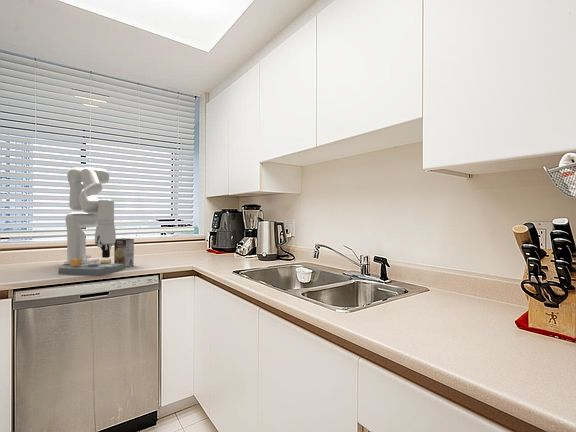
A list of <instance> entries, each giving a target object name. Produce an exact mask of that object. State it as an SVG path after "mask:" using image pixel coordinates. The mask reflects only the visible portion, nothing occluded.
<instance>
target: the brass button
mask: <svg viewBox="0 0 576 432" xmlns="http://www.w3.org/2000/svg"><path fill="white" fill-rule="evenodd" d="M100 263H101V264H112V259H111V258H110V259H108V258H105V259H100Z"/></svg>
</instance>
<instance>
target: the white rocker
mask: <svg viewBox="0 0 576 432" xmlns="http://www.w3.org/2000/svg"><path fill="white" fill-rule="evenodd" d="M91 263H101V260H100V259H97V258H96V259H92V260H88V261H87V262H85V264H91Z"/></svg>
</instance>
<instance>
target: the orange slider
mask: <svg viewBox="0 0 576 432" xmlns="http://www.w3.org/2000/svg"><path fill="white" fill-rule="evenodd" d="M81 265H82V259H70V264H69V266H81Z"/></svg>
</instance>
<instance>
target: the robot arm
mask: <svg viewBox="0 0 576 432" xmlns="http://www.w3.org/2000/svg"><path fill="white" fill-rule="evenodd" d="M66 176H67V182H68V185H69V200H68V201H69V208H70V210H72V211H77V212H70V213H68V214H66V216H65V226H66V235H67V236H66V239H67V241H66V242H67V243H66V245H67V247H66V248H67V249H66V253H67V255H66V261H64V262H63V264H64V265H70V259H82V264H83V263H85V262H87V261H89V260H88V259H91V258H92V255H91V254H86V251H87V249H86V247H87V246H86V245H87V244H86V243H87V242H86V240H87V239H86V238H87V237H86V232H84V230H83V229H84V228H85V229H86V228H89V229H90V228H95V231H94V244H95V245H97V246H96V247H97V248H100V250H101V255H102V256H101V258H103V259H108V258H111V257H110V256H111V253H110V252H111V249H112V247H114V243H115V241H116V239H117V236H116V235H117V234H116V227H115V201H114V200H113V199H109V198H107V199H106V198H105V199H99V197H97V196H95V195H98V194H100V193H101V192H102V190H103V184H107V183H108V182H109V181H110V174H109V172H108V170H106V169H104V168H96V167H83V168H82V167H72V168H71V167H70V168H69V169H68V170H67V173H66ZM79 211H82V212H79Z"/></svg>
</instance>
